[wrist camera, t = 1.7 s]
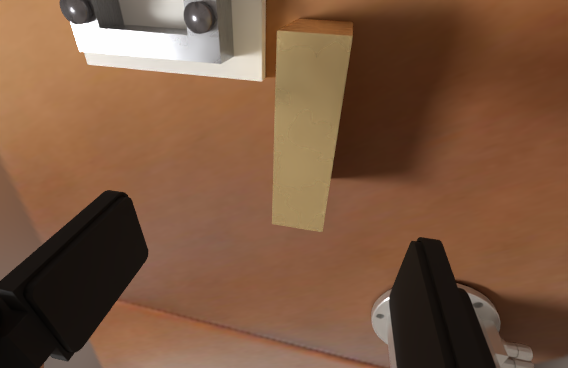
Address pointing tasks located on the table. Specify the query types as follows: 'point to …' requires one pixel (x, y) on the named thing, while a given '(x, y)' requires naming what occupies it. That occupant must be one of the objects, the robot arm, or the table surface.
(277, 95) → the tall tan wooden block
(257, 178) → the table surface
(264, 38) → the board
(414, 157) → the table surface
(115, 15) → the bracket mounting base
